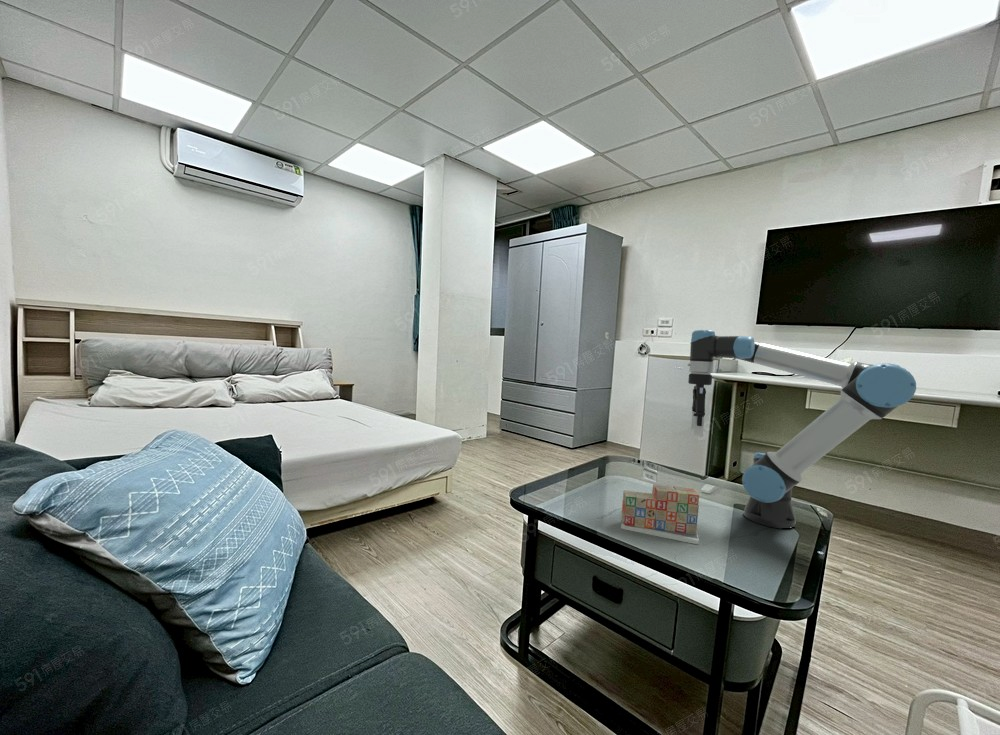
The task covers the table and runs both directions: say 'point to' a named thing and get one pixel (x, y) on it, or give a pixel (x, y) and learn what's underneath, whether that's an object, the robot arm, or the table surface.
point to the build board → (664, 533)
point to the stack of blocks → (662, 509)
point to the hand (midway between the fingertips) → (696, 432)
